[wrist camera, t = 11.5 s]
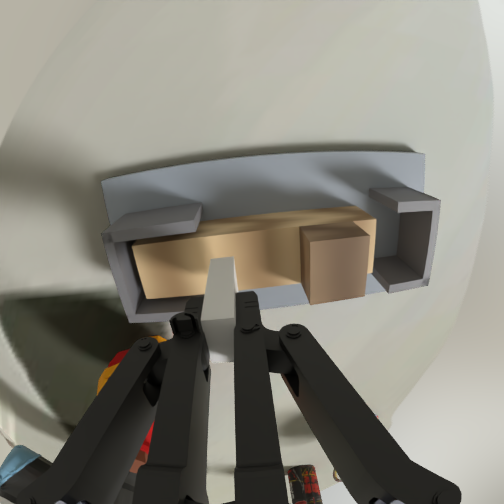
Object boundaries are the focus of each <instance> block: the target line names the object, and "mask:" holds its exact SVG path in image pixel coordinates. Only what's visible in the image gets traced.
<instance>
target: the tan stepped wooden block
mask: <svg viewBox="0 0 504 504" xmlns="http://www.w3.org/2000/svg"><path fill="white" fill-rule="evenodd" d="M375 235H376V219H375V218H374V217H372V216H371V215H369V214H368V213H366V212H365V211H363V210H362V209H360V208H359V207H357V206H345V207H333V208H321V209H309V210H298V211H288V212H277V213H268V214H258V215H249V216H240V217H231V218H223V219H214V220H206V221H200V222H199V224H198V227H197V230H196V232H191V233H183V234H175V235H167V236H159V237H151V238H144V239H137V240H136V242H135V243H134V244H133V245H132V249H133V253H134V257H135V261H136V264H137V268H138V272H139V275H140V279H141V282H142V285H143V289H144V292H145V295H146V298H147V299H155V298H167V297H179V296H190V295H201V294H205V289H206V283H207V277H208V271H209V265H210V260H211V259H214V258H223V257H232V256H234V262H235V270H236V277H237V285H238V291H240V290H249V289H257V288H266V287H274V286H283V285H290V284H298V283H301V285H302V287H303V289H304V292H305V294H306V296H307V299H308V301H309V303H310V305H314V304H320V303H327V302H333V301H339V300H345V299H351V298H357V297H363V296H365V289H366V280H367V274H369V273H372V271H373V261H374V249H375Z"/></svg>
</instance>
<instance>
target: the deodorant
mask: <svg viewBox="0 0 504 504" xmlns="http://www.w3.org/2000/svg"><path fill="white" fill-rule="evenodd" d="M288 478H289V484H290V491H291V497H292V503H293V504H322V499H321V495H320V490H319V485H318V481H317V476H316V472H315V467H314V466H313V465H302V466H297V467H294V468H292V469H290V470H289V471H288Z"/></svg>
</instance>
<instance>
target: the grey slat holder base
mask: <svg viewBox="0 0 504 504" xmlns="http://www.w3.org/2000/svg"><path fill="white" fill-rule="evenodd" d="M424 180H425V154H423V153H417V152H401V151H310V152H290V153H275V154H262V155H251V156H241V157H232V158H223V159H215V160H207V161H200V162H193V163H186V164H180V165H173V166H167V167H161V168H156V169H150V170H145V171H140V172H135V173H130V174H125V175H120V176H116V177H111V178H107V179H105V180H102V181H101V184H102V189H103V194H104V199H105V204H106V209H107V214H108V218H109V222H110V226H109V227H108V228H107V229H106V230H104V231H103V232H102V233H101V235H102V239H103V243H104V247H105V250H106V254H107V257H108V261H109V264H110V267H111V271H112V274H113V277H114V280H115V283H116V286H117V289H118V292H119V295H120V298H121V301H122V304H123V307H124V309H125V312H126V315H127V318H128V320H129V323H142V322H162V321H169V320H170V319H171V317H173V316H174V315H175V314H178V313H180V312H184V310H185V306H186V303H187V301H188V300H189V299H190V298H191V297H202V296H204V295H205V294H201V295H190V296H179V297H167V298H155V299H147V298H146V295H145V292H144V289H143V285H142V282H141V279H140V275H139V272H138V268H137V264H136V261H135V257H134V253H133V249H132V245H133V244H134V243H135V242H136V240H137V239H144V238H151V237H159V236H167V235H175V234H183V233H191V232H196V230H197V227H198V224H199V222H200V221H206V220H214V219H223V218H231V217H240V216H249V215H258V214H268V213H277V212H288V211H298V210H309V209H321V208H333V207H345V206H357V207H359V208H360V209H362V210H363V211H365V212H366V213H368V214H369V215H371V216H372V217H374V218H375V219H376V235H375V249H374V261H373V271H372V273H369V274H367V280H366V289H365V295H367V294H372V293H378V292H384V291H387V292H388V294H389V293H394V292H399V291H404V290H409V289H414V288H419V287H423V286H428V284H429V279H430V274H431V269H432V263H433V258H434V252H435V246H436V239H437V231H438V223H439V214H440V204H441V200H439V199H437V198H434V197H432V196H429V195H427V194H425V193H424ZM246 291H254V292H255V293H256V294H257V295H258V302H259V309H260V310H263V309H271V308H279V307H287V306H295V305H302V304H310V303H309V301H308V299H307V296H306V294H305V292H304V289H303V287H302V285H301V283H298V284H290V285H283V286H274V287H266V288H257V289H249V290H240V291H238V292H246Z"/></svg>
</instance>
